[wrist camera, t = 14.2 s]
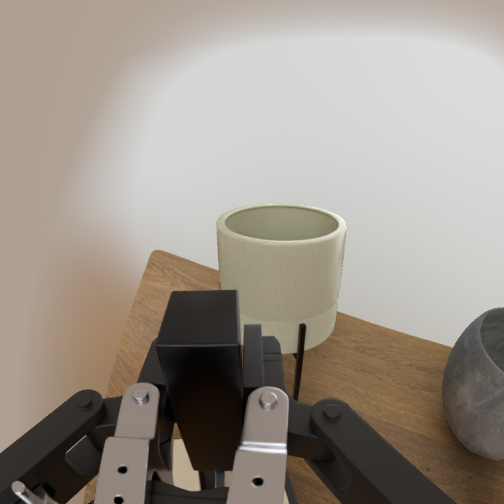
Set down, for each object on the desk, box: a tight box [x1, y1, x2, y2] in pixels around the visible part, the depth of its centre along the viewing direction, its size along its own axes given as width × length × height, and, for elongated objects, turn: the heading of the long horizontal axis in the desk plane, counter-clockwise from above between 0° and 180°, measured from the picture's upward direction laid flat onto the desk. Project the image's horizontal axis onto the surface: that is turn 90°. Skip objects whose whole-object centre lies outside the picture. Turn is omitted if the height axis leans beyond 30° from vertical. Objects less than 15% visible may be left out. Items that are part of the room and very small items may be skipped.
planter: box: [216, 203, 347, 402], centre depth 42 cm, size 15×16×23 cm
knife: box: [155, 289, 245, 488], centre depth 12 cm, size 2×6×16 cm, turn 3°
